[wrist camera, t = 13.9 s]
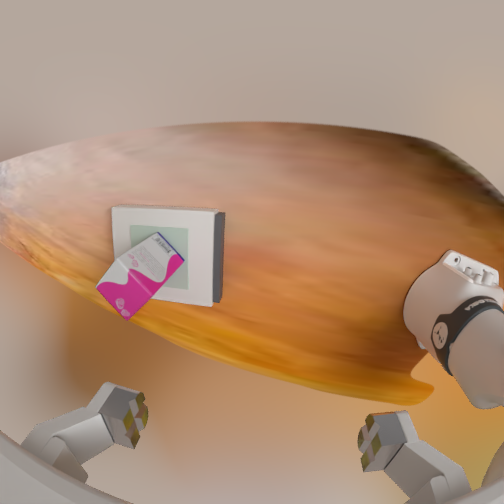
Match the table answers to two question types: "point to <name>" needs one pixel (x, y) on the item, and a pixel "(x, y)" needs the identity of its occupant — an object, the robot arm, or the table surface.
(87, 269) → the table surface
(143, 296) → the supplement box
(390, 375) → the table surface
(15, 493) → the robot arm
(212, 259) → the dock
